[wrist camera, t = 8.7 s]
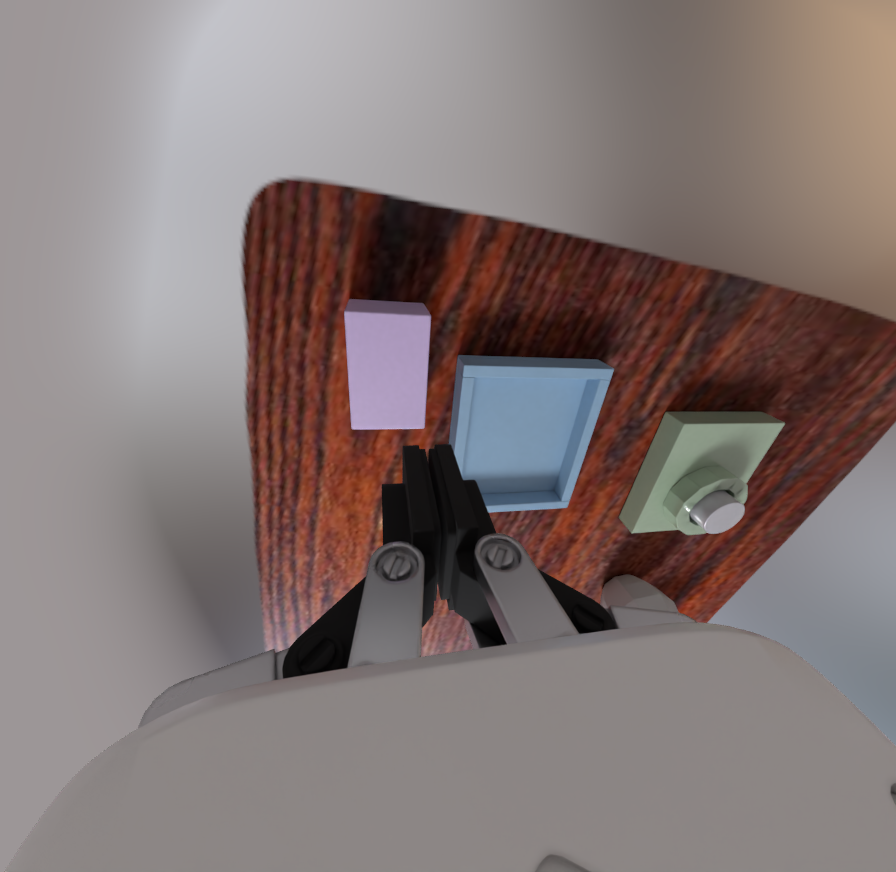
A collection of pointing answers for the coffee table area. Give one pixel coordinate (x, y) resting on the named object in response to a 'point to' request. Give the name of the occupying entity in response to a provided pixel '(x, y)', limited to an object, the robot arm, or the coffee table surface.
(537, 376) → the soap dish
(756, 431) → the green push button box
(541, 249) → the coffee table surface
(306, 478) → the coffee table surface
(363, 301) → the soap bar
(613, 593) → the apple
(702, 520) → the grey push button
